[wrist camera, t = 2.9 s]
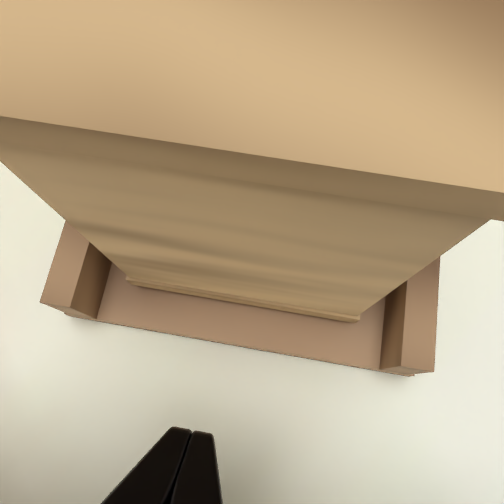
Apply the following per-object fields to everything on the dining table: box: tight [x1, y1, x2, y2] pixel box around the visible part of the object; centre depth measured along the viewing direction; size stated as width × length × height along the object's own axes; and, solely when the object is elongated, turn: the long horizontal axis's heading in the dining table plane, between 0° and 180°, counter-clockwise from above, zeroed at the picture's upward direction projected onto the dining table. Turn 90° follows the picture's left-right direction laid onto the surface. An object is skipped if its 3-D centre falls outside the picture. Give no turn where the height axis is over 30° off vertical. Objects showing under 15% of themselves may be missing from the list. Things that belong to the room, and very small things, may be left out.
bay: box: [40, 221, 440, 376], centre depth 17 cm, size 20×13×7 cm, turn 170°
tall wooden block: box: [0, 0, 504, 323], centre depth 12 cm, size 8×8×11 cm
